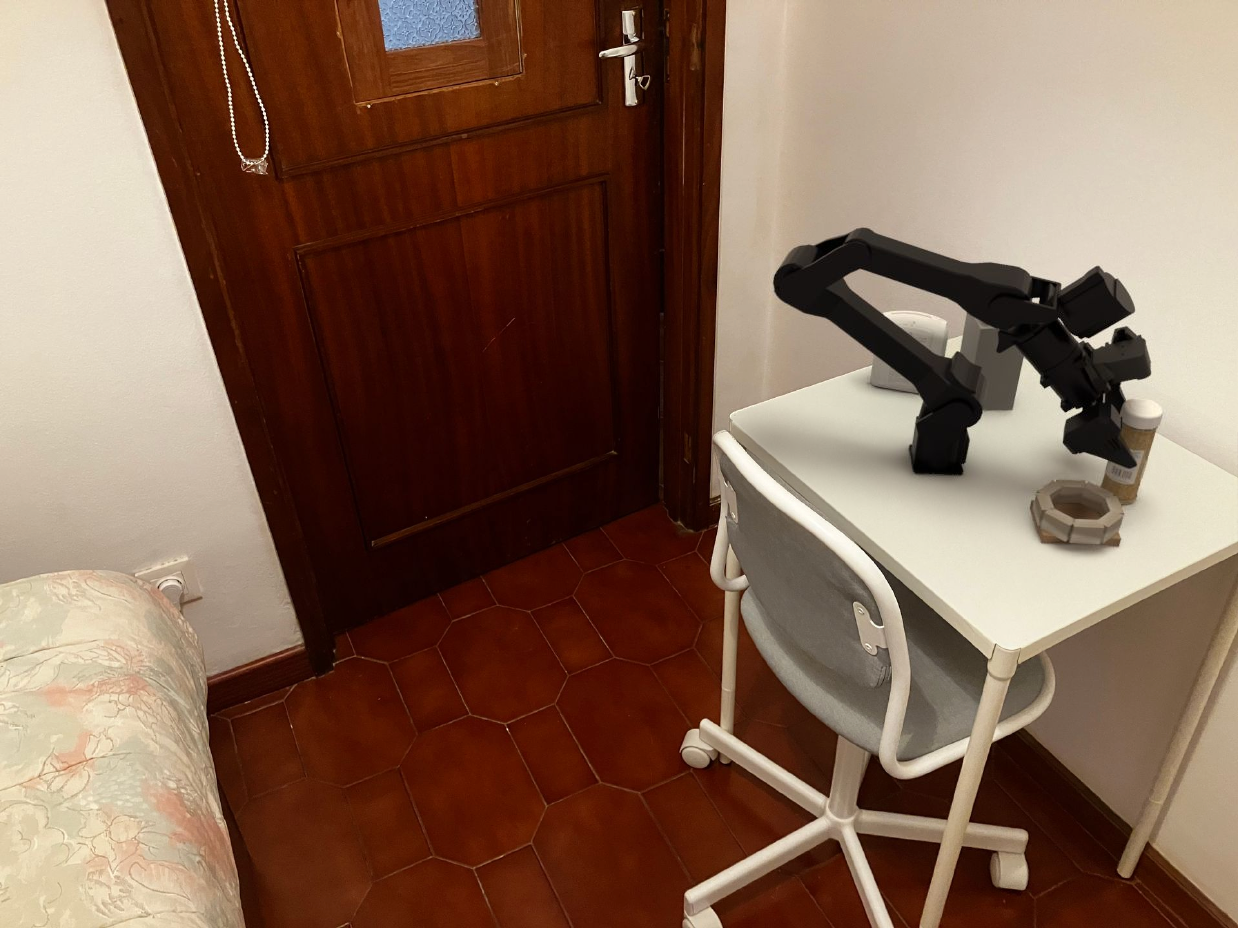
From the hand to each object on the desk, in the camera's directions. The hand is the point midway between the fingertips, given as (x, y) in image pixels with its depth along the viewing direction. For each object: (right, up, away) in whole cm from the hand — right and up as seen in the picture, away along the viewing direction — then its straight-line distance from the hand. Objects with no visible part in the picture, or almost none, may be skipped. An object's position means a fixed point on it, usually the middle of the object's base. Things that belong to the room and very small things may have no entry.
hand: (1133, 446), depth 126 cm
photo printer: (-20, +10, +29) cm, 36 cm away
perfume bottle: (-10, +7, +25) cm, 28 cm away
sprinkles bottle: (0, -6, +5) cm, 8 cm away
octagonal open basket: (-8, -10, 0) cm, 13 cm away
